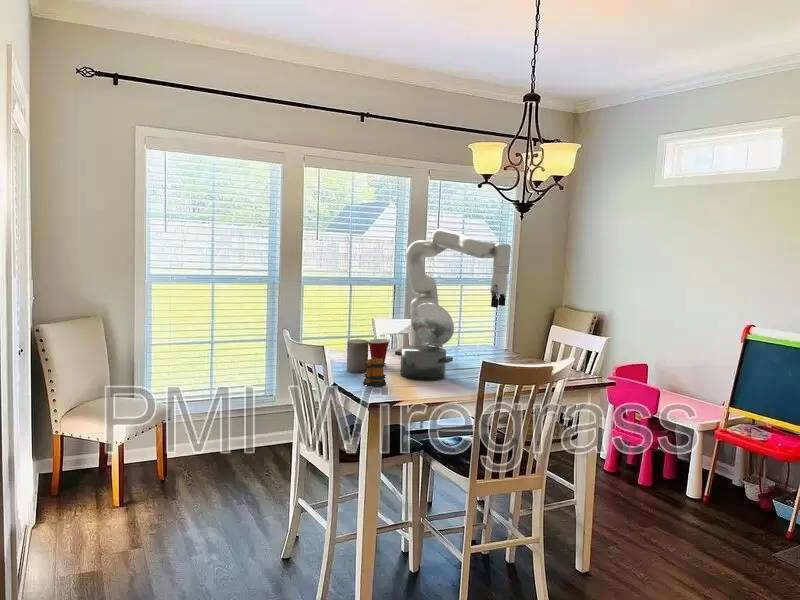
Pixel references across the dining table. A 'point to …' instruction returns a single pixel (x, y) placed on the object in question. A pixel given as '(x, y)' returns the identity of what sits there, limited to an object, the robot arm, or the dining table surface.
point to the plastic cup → (378, 348)
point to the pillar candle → (357, 355)
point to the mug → (375, 373)
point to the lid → (432, 324)
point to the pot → (423, 362)
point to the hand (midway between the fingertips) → (498, 306)
